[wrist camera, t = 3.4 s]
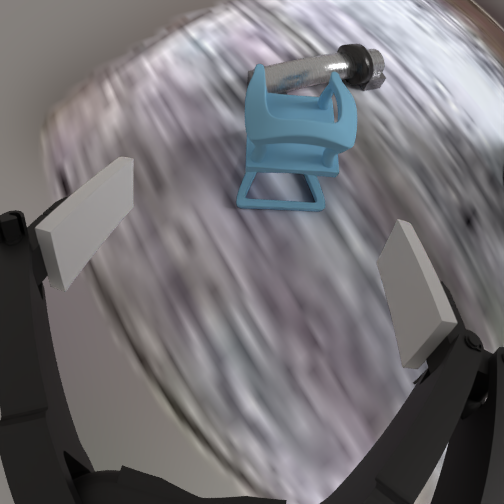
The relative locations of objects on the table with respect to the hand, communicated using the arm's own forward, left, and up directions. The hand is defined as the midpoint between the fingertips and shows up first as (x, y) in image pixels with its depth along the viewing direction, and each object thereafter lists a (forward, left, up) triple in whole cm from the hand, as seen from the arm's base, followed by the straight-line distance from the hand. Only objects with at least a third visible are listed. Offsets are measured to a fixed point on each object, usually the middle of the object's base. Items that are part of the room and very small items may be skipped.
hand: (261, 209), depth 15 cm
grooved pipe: (-13, -14, -12) cm, 23 cm away
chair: (-5, -6, -13) cm, 15 cm away
